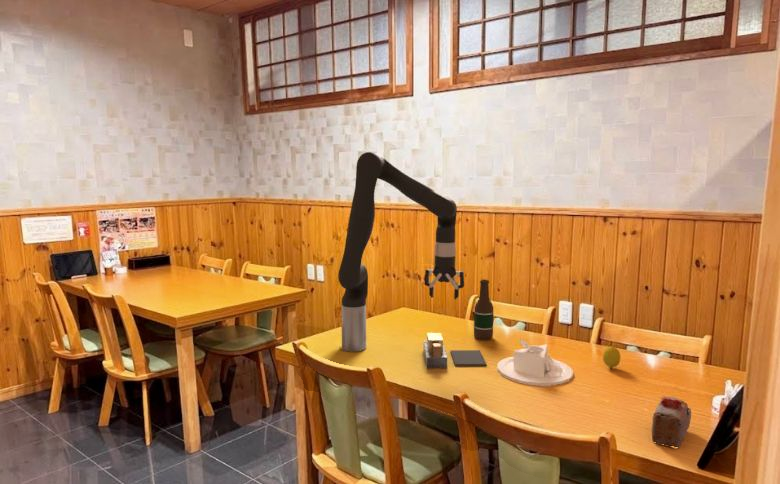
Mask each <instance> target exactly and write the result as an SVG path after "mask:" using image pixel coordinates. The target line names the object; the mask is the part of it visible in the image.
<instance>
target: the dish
mask: <svg viewBox="0 0 780 484" xmlns="http://www.w3.org/2000/svg"><path fill="white" fill-rule="evenodd" d="M519 342H520V344H521V346H523V347H524V348H521V349H515V350H513V356H509V357H506V358H503V359H501V360H500V361H498V363H497V372H498V373H499V374H500V375H501V377H504V378H506V379H508V380H509V381H513V382H516V383H519V384H522V385H528V386H537V387H539V386H540V387H551V385H553V386H558V385H557V384H560V385H563V384H562V383H564V382H566V383H567V381H568V382H570V381H571V380H572V379H573V377H574V372H573V369H572V368H571V367H570V366H569V365H568V364H566V363H565V362H562V361H559V360H557V359H554V358H552V357H551V356H550V355H548V343H545V344H541V345H535V344H533V345H529V343H528V342H527V341H525V339H519ZM571 378H572V379H571ZM570 379H571V380H570ZM569 380H570V381H569ZM564 384H565V383H564Z"/></svg>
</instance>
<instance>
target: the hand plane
mask: <svg viewBox="0 0 780 484" xmlns="http://www.w3.org/2000/svg"><path fill="white" fill-rule="evenodd" d="M423 354H424V355H423V356H424V360H425V365H426V366H425V367H426V369H428V370H429V369H432V370H433V369H434V370H435V369H442V370H443V369H448V356H447V352H446V349H445V346H444V344H443V352H441V346H440V343H433V352H429V351H428V346H427V340H423Z"/></svg>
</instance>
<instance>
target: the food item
mask: <svg viewBox="0 0 780 484" xmlns="http://www.w3.org/2000/svg"><path fill="white" fill-rule="evenodd" d="M691 418H692V409H691V408H690V407H688V403H686V402H685V401H683V400H681V399H679V398H676V397H673V396H662V397H661V399H660V401H659V403H658V405H657V406H656V407H655V411H654V412H653V416H652V424H651V425H652V426H651V437H652V439H651V440H652V442H653V443H654V442H656V443H659V444H658V445H660V444H664V445H668V446H674V447H678V449H679V448H680V446H681V443H682V442H683V441H684V440H685V436H686V434H687V431H688V429H690V423H691ZM683 439H684V440H683ZM682 440H683V441H682ZM656 443H655V444H656ZM668 446H667V447H668Z"/></svg>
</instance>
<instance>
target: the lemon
mask: <svg viewBox="0 0 780 484" xmlns="http://www.w3.org/2000/svg"><path fill="white" fill-rule="evenodd" d="M602 361H603V363H604V364H605V366H607V367H608V368H609V369H613V368H616V367H618V365H620V362H621V353H620V351H619V349H618V348H617V347H615V346H614V345H610V346H608V347H607V348H605V349H604V351H603V354H602Z"/></svg>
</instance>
